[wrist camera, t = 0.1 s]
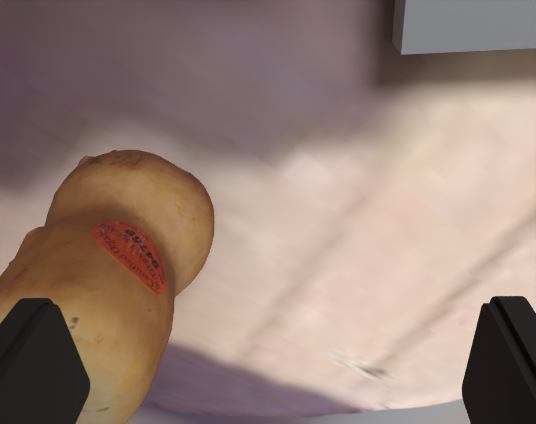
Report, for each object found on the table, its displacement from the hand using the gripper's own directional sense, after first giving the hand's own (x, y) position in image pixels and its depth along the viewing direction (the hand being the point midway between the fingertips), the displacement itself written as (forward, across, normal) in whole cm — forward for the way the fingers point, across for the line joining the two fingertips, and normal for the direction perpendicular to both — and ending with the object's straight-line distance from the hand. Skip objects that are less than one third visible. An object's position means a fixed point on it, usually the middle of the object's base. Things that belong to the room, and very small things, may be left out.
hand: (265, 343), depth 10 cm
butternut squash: (+31, +14, +13) cm, 37 cm away
